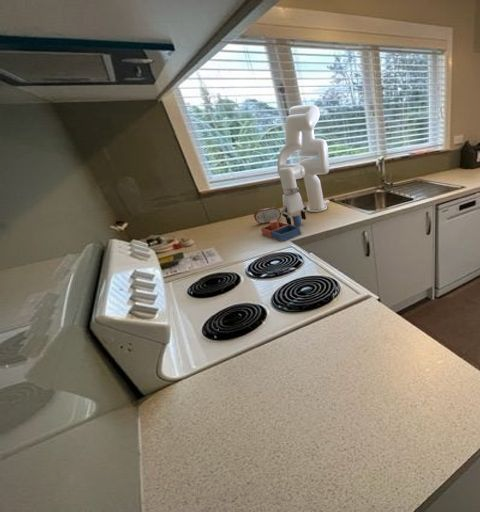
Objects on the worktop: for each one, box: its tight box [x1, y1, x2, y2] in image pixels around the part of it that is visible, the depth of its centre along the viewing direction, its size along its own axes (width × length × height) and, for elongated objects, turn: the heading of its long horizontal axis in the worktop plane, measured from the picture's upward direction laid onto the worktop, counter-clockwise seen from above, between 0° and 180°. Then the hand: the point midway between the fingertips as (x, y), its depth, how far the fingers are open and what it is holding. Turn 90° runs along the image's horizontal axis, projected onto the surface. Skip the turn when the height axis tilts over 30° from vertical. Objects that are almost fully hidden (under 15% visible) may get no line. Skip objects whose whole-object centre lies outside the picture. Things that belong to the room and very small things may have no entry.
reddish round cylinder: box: [268, 220, 280, 230], centre depth 157 cm, size 4×4×6 cm
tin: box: [253, 206, 282, 225], centre depth 173 cm, size 15×3×8 cm, turn 121°
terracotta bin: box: [260, 221, 289, 239], centre depth 158 cm, size 11×9×4 cm
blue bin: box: [271, 224, 302, 242], centre depth 152 cm, size 11×9×4 cm
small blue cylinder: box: [291, 213, 303, 227], centre depth 165 cm, size 4×4×6 cm
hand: (296, 221), depth 165 cm, fingers open, 9 cm apart
